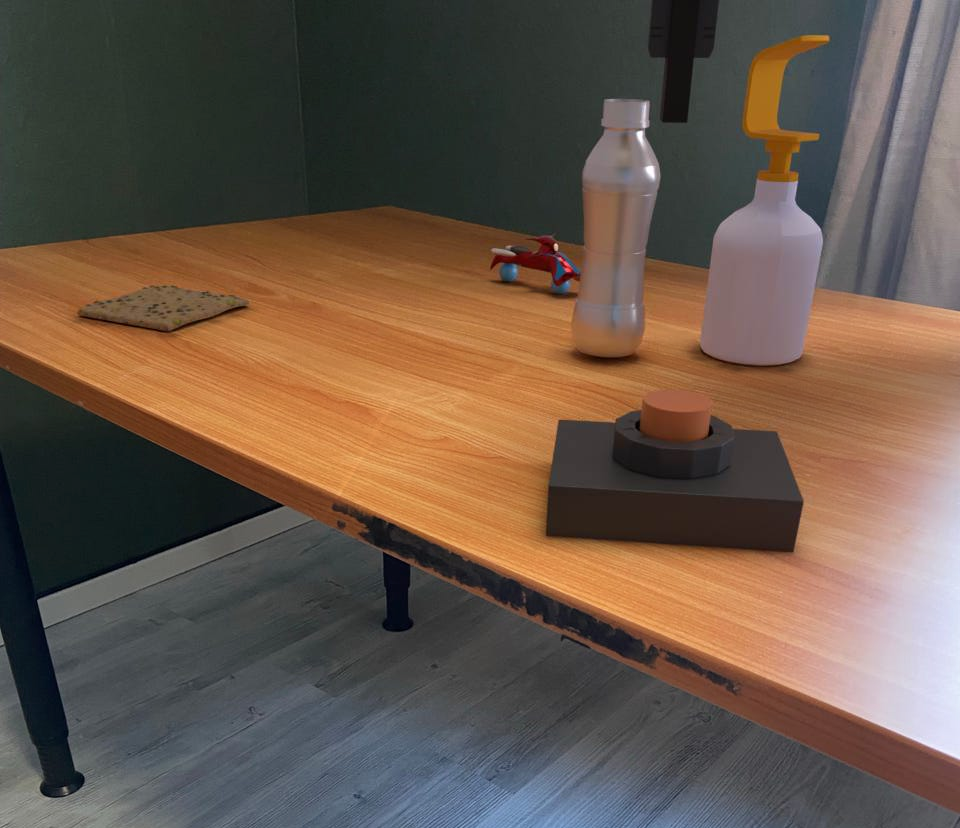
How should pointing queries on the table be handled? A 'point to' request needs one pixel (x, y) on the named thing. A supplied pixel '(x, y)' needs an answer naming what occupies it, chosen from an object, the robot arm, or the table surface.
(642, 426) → the button
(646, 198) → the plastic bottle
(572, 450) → the button base
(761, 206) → the soap bottle
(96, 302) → the tan flat square slab
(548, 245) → the hoverbike
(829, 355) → the table surface
